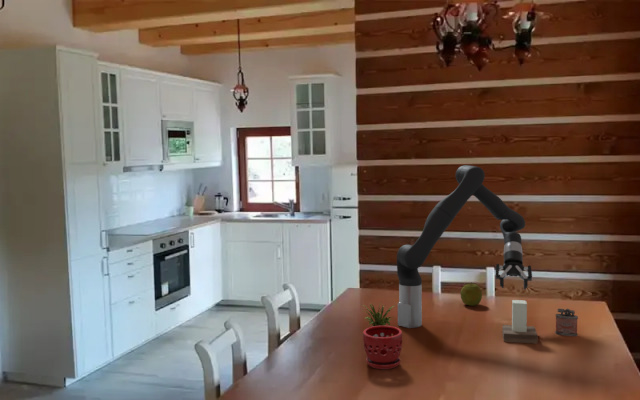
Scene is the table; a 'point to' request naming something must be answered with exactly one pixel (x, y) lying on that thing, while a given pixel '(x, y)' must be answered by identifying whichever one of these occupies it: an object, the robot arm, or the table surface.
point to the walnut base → (519, 335)
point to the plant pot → (383, 346)
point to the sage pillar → (519, 316)
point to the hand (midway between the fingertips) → (513, 287)
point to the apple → (471, 294)
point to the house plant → (378, 317)
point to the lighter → (566, 323)
